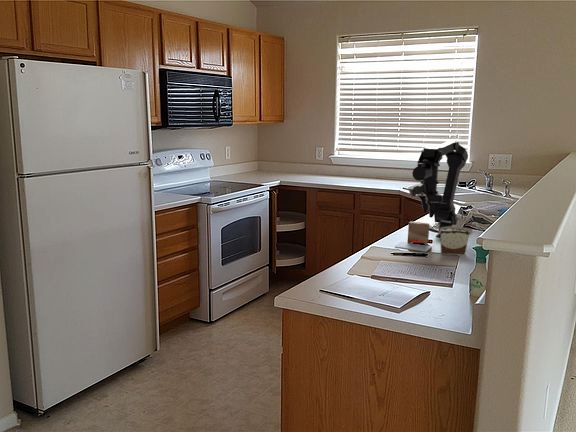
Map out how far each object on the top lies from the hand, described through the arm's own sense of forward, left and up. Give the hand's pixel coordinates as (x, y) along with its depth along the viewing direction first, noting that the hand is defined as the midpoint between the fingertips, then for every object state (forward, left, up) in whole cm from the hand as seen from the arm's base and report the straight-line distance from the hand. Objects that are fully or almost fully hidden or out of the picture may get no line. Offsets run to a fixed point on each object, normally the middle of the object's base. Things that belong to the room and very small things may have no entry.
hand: (427, 214), depth 224 cm
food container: (+8, +12, -13) cm, 19 cm away
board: (+9, -3, -12) cm, 15 cm away
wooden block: (+2, -3, -13) cm, 13 cm away
